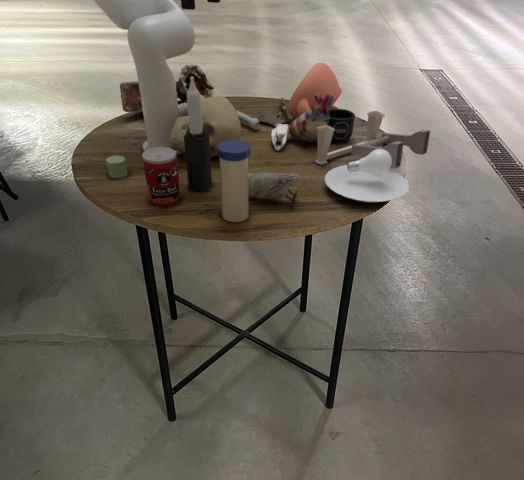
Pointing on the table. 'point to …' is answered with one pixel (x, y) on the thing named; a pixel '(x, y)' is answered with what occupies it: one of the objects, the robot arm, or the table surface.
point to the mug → (341, 124)
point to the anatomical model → (312, 119)
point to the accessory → (306, 145)
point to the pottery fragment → (274, 115)
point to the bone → (249, 120)
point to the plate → (366, 185)
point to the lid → (233, 150)
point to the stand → (117, 166)
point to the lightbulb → (372, 163)
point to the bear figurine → (199, 80)
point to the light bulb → (185, 107)
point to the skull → (210, 124)
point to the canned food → (162, 176)
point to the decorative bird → (270, 185)
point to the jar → (234, 189)
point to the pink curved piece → (314, 89)
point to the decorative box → (131, 96)
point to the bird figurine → (279, 135)
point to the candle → (197, 144)
